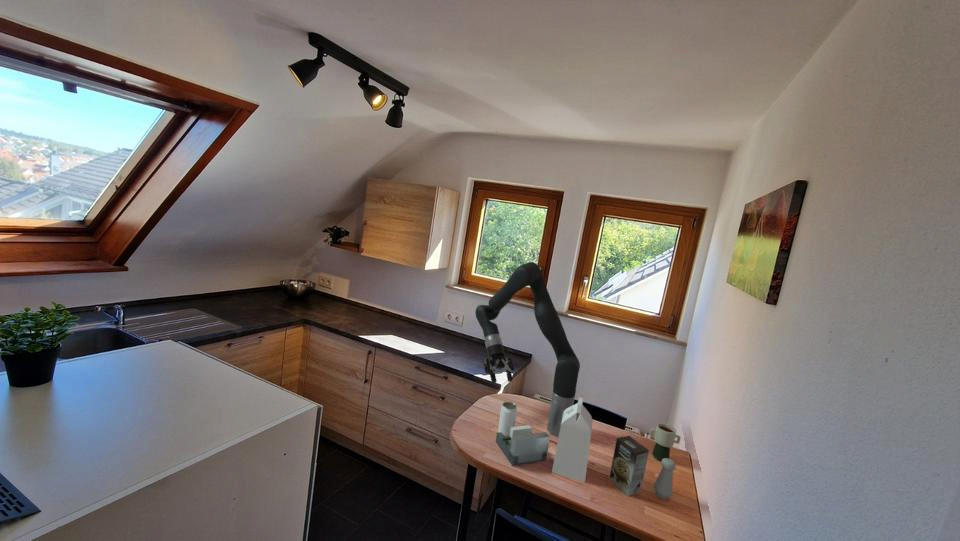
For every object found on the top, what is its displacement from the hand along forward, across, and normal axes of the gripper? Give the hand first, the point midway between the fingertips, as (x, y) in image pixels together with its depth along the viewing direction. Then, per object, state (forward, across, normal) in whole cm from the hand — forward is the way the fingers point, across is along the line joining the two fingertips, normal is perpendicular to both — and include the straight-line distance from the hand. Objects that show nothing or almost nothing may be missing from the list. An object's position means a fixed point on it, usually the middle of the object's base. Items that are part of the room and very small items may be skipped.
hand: (502, 381), depth 168 cm
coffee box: (+46, +18, -31) cm, 59 cm away
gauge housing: (+28, -5, -7) cm, 29 cm away
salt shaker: (+52, +26, -38) cm, 69 cm away
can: (+20, -2, +3) cm, 20 cm away
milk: (+37, +7, -19) cm, 42 cm away
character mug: (+42, +46, -29) cm, 69 cm away
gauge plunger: (+26, -6, -6) cm, 27 cm away
